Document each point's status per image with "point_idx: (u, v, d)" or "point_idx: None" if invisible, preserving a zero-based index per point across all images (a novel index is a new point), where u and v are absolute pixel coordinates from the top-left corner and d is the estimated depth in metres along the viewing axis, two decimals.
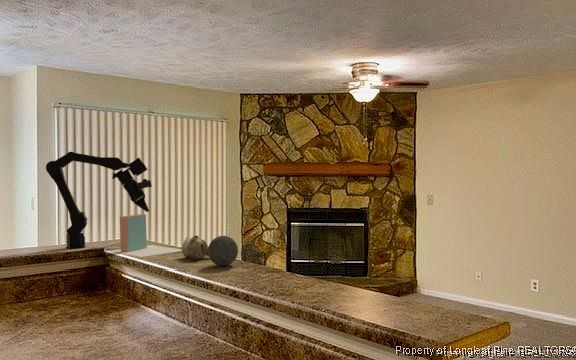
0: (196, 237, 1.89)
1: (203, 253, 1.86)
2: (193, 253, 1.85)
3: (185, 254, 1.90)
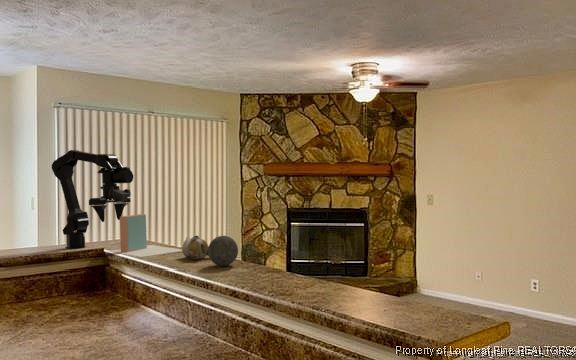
0: (196, 237, 1.89)
1: (203, 253, 1.86)
2: (193, 253, 1.85)
3: (185, 254, 1.90)
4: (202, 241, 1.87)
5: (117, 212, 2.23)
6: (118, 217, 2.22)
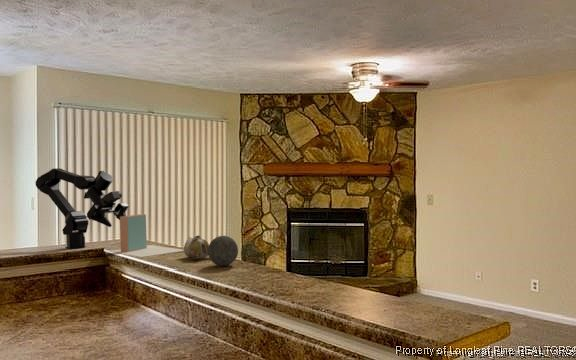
0: (198, 237, 1.89)
1: (204, 253, 1.86)
2: (194, 253, 1.85)
3: (187, 254, 1.91)
4: (203, 241, 1.87)
5: None
6: None
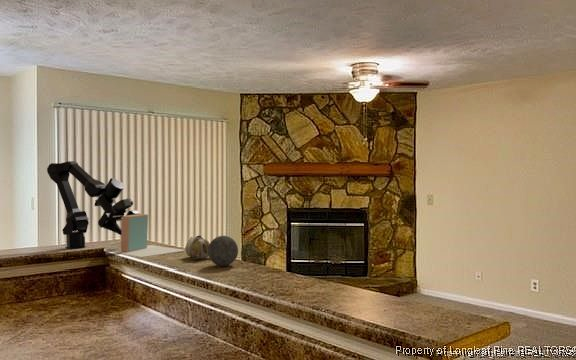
0: (199, 237, 1.89)
1: (205, 253, 1.86)
2: (195, 253, 1.85)
3: (189, 254, 1.91)
4: (204, 241, 1.87)
5: None
6: None
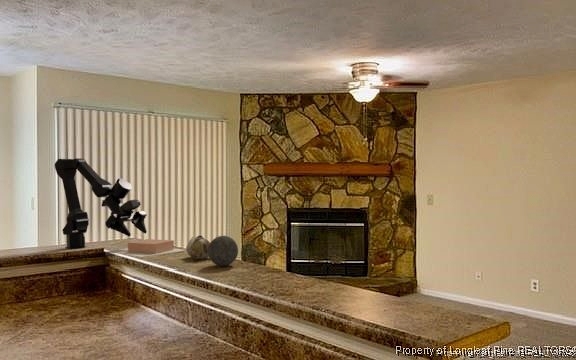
0: (200, 237, 1.89)
1: (206, 253, 1.86)
2: (195, 253, 1.85)
3: (190, 254, 1.91)
4: (205, 241, 1.87)
5: (140, 228, 2.15)
6: (144, 231, 2.14)
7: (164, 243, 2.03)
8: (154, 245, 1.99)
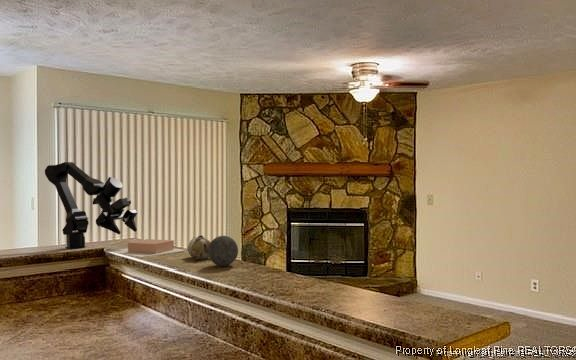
0: (201, 237, 1.89)
1: (206, 253, 1.86)
2: (196, 253, 1.85)
3: (191, 254, 1.91)
4: (205, 241, 1.87)
5: (131, 226, 2.17)
6: (134, 229, 2.16)
7: (164, 243, 2.03)
8: (154, 245, 1.99)
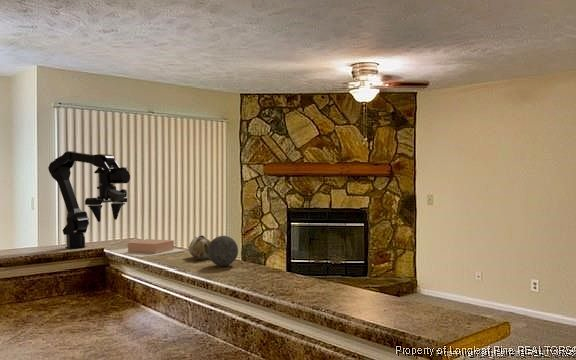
0: (202, 237, 1.89)
1: (207, 253, 1.86)
2: (196, 253, 1.85)
3: (192, 253, 1.91)
4: (206, 241, 1.87)
5: (114, 212, 2.24)
6: (115, 217, 2.23)
7: (164, 243, 2.03)
8: (154, 245, 1.99)
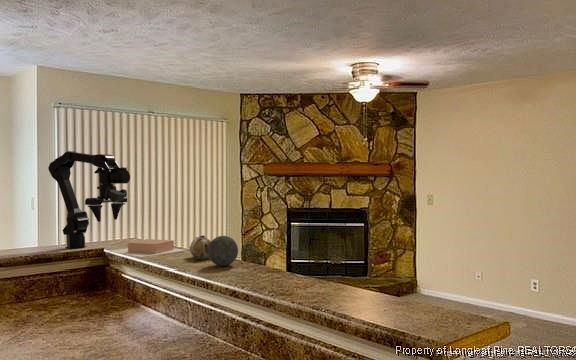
0: (202, 237, 1.89)
1: (207, 253, 1.86)
2: (197, 253, 1.85)
3: (193, 253, 1.91)
4: (207, 241, 1.87)
5: (114, 212, 2.24)
6: (115, 217, 2.23)
7: (164, 243, 2.03)
8: (154, 245, 1.99)
